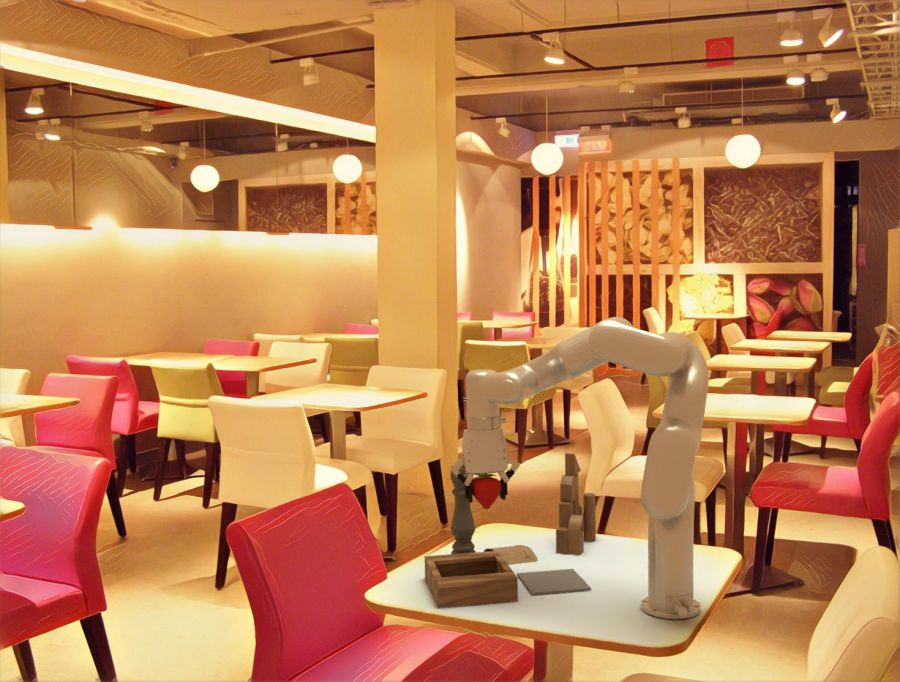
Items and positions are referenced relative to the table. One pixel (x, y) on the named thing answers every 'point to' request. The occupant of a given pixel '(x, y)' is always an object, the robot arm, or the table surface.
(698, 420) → the robot arm
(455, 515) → the candle holder
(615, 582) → the table surface
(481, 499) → the strawberry
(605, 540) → the table surface
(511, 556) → the clay tablet
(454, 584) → the wooden box
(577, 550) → the wooden toy
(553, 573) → the mat
